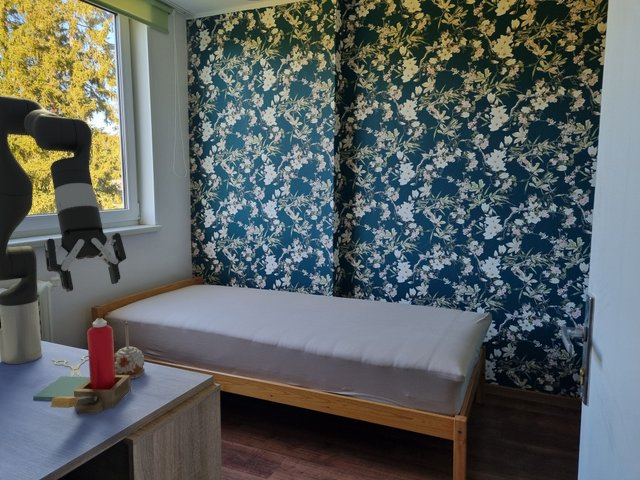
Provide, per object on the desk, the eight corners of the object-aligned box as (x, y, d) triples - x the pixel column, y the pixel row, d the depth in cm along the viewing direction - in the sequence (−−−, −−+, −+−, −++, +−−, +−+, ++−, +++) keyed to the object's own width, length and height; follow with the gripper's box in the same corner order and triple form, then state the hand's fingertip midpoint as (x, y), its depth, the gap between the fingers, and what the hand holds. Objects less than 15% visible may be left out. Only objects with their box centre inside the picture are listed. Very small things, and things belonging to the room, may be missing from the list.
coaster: (33, 399, 106) (33, 396, 106) (61, 379, 117) (61, 376, 117) (78, 400, 106) (77, 397, 106) (102, 380, 117) (102, 377, 117)
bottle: (115, 391, 111) (111, 314, 108) (117, 400, 106) (112, 320, 103) (90, 396, 108) (86, 317, 106) (91, 406, 104) (86, 323, 101)
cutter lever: (82, 401, 101) (83, 392, 102) (98, 401, 101) (99, 393, 102) (50, 407, 90) (52, 397, 90) (67, 407, 90) (69, 398, 90)
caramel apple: (106, 378, 118) (103, 324, 116) (130, 367, 125) (128, 316, 123) (127, 384, 115) (124, 328, 113) (150, 372, 122) (148, 320, 120)
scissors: (92, 352, 135) (98, 376, 118) (92, 354, 135) (99, 379, 118) (51, 359, 129) (52, 386, 112) (52, 362, 129) (52, 389, 113)
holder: (68, 412, 100) (67, 396, 100) (95, 389, 112) (94, 374, 111) (107, 414, 100) (106, 397, 100) (130, 390, 112) (130, 375, 111)
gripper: (107, 213, 98) (122, 284, 96) (33, 217, 88) (48, 296, 86) (120, 202, 93) (135, 277, 91) (42, 205, 82) (58, 290, 81)
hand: (93, 287), depth 88 cm, fingers open, 8 cm apart
